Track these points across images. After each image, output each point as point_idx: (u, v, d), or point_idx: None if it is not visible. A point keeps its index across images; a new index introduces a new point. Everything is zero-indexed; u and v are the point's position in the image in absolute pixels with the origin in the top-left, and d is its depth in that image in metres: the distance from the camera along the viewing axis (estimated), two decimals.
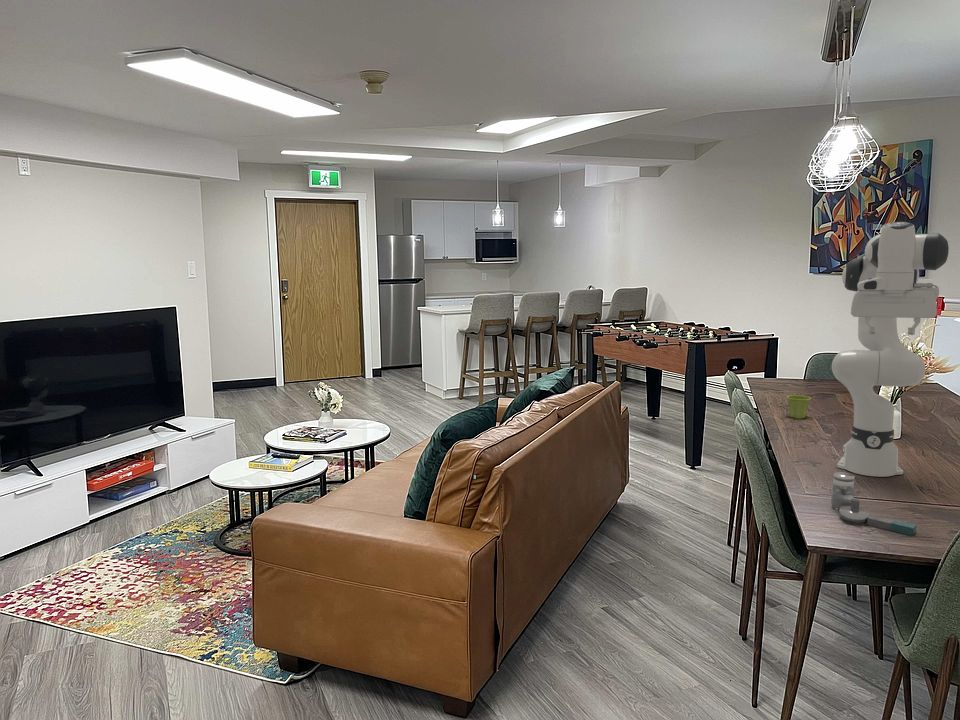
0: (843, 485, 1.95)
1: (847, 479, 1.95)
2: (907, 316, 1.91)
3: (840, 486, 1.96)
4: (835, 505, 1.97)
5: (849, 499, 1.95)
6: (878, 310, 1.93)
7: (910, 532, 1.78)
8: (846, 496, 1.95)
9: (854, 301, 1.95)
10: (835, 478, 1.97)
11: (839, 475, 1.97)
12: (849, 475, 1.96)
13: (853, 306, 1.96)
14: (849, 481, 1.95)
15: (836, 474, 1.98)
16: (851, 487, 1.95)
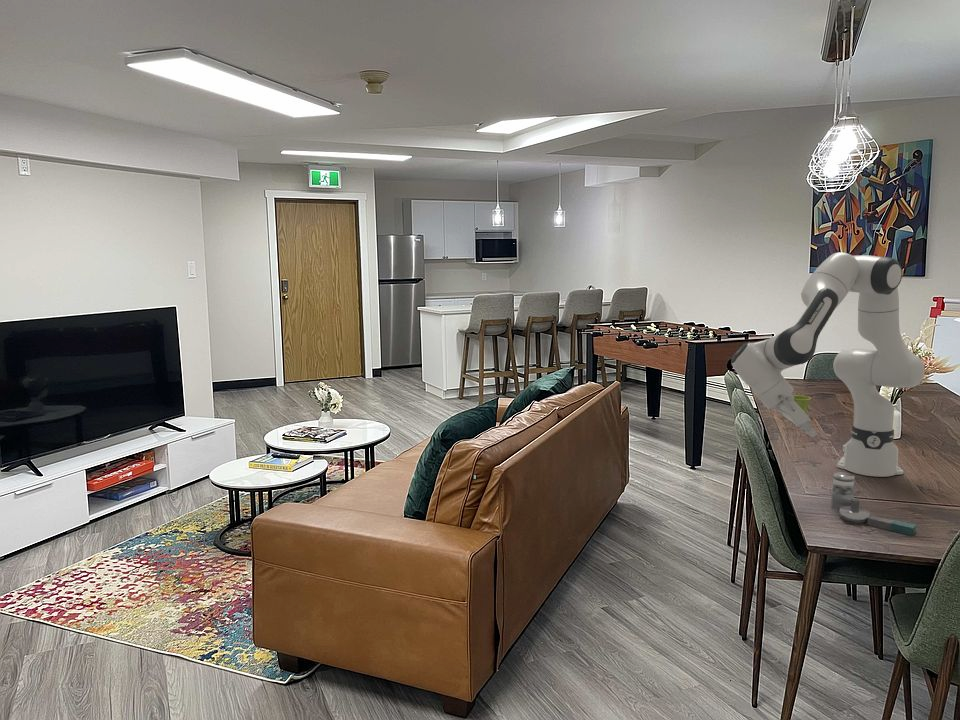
0: (843, 485, 1.95)
1: (847, 479, 1.95)
2: None
3: (840, 486, 1.96)
4: (835, 505, 1.97)
5: (849, 499, 1.95)
6: (787, 417, 2.02)
7: (910, 532, 1.78)
8: (846, 496, 1.95)
9: None
10: (835, 478, 1.97)
11: (839, 475, 1.97)
12: (849, 475, 1.96)
13: None
14: (849, 481, 1.95)
15: (836, 474, 1.98)
16: (851, 487, 1.95)
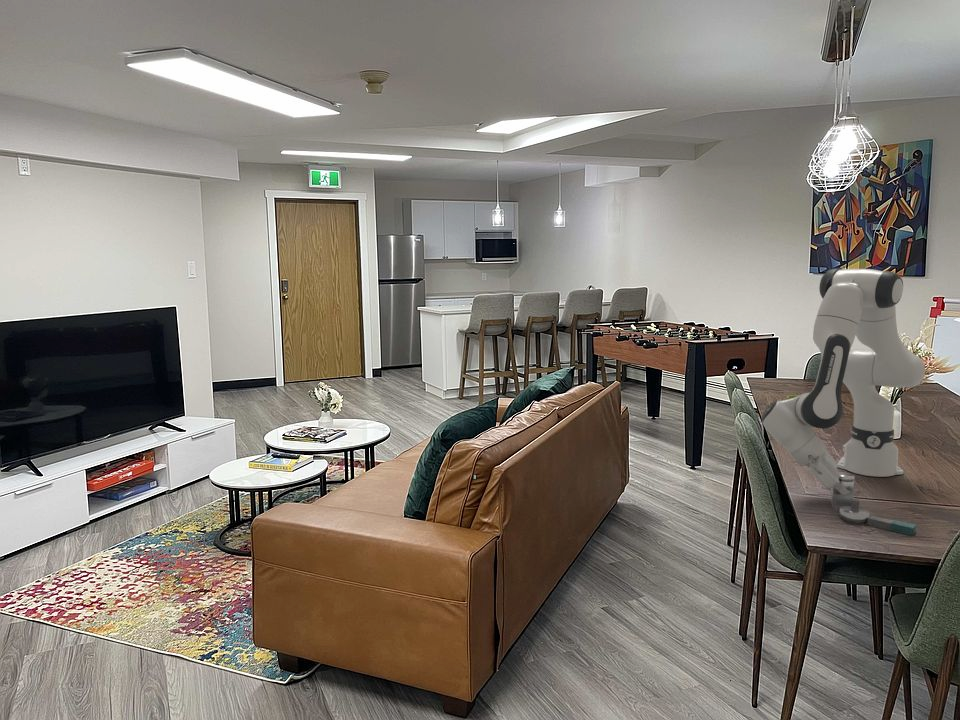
0: (843, 485, 1.95)
1: (847, 479, 1.95)
2: None
3: None
4: (835, 505, 1.97)
5: (849, 499, 1.95)
6: None
7: (910, 532, 1.78)
8: (846, 496, 1.95)
9: None
10: None
11: (839, 475, 1.97)
12: (849, 475, 1.96)
13: None
14: (849, 481, 1.95)
15: None
16: (851, 487, 1.95)
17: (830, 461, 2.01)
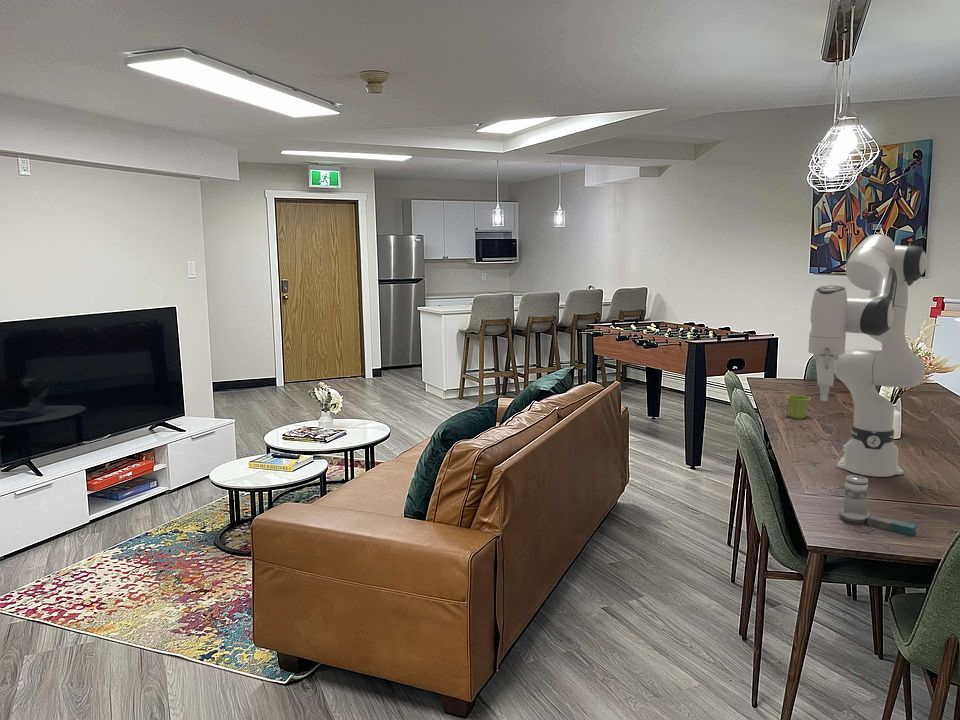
0: (856, 489, 1.85)
1: (860, 482, 1.84)
2: None
3: (852, 490, 1.85)
4: (848, 509, 1.86)
5: (862, 503, 1.85)
6: (817, 371, 1.97)
7: (910, 532, 1.78)
8: (859, 500, 1.85)
9: None
10: (848, 481, 1.86)
11: (852, 478, 1.87)
12: (862, 478, 1.86)
13: None
14: (862, 484, 1.84)
15: (849, 477, 1.87)
16: (865, 491, 1.85)
17: None
